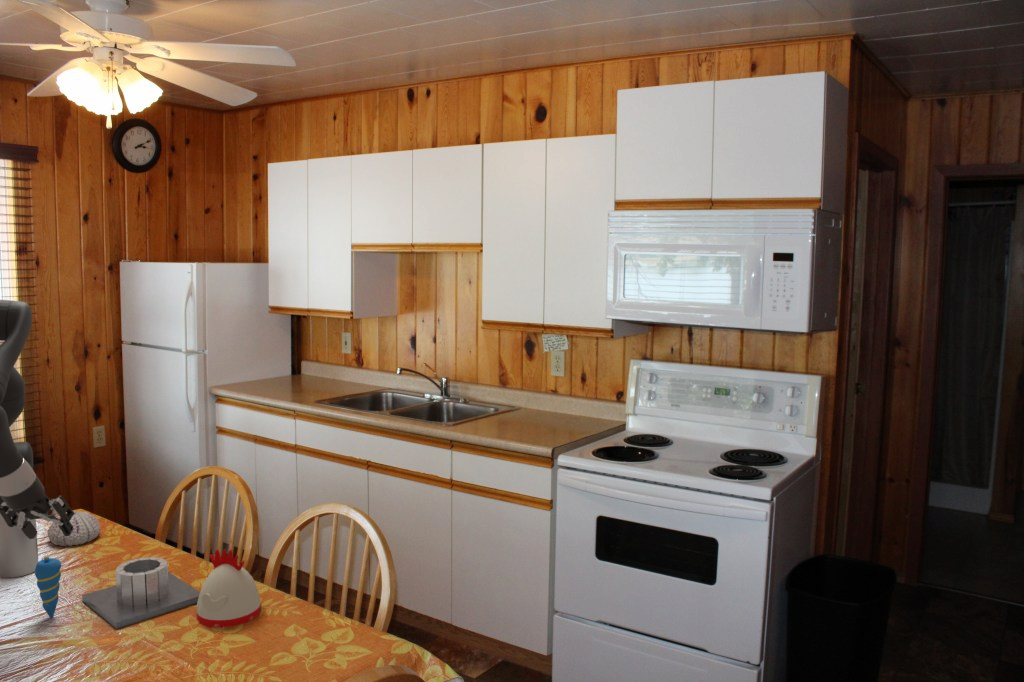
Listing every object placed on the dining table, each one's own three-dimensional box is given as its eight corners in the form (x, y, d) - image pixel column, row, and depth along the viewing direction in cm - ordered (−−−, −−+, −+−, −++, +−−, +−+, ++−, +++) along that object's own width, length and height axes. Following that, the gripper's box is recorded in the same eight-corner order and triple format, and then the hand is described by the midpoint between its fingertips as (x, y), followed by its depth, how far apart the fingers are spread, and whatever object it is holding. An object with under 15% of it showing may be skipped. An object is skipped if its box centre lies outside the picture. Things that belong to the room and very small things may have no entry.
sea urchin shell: (111, 533, 237) (110, 506, 236) (82, 550, 223) (81, 522, 222) (67, 531, 238) (66, 504, 237) (37, 548, 225) (35, 520, 224)
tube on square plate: (82, 601, 192) (80, 566, 191) (166, 576, 206) (165, 543, 205) (116, 629, 178) (114, 592, 177) (204, 600, 193) (203, 566, 192)
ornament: (69, 613, 186) (65, 549, 184) (54, 623, 181) (50, 558, 179) (47, 612, 186) (43, 548, 184) (32, 622, 181) (28, 557, 179)
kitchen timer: (218, 597, 195) (216, 536, 193) (271, 603, 192) (270, 541, 190) (184, 623, 181) (181, 558, 180) (240, 630, 179) (238, 564, 177)
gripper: (56, 467, 174) (89, 519, 183) (-5, 472, 176) (30, 524, 185) (38, 492, 168) (73, 545, 177) (-25, 497, 170) (13, 550, 179)
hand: (51, 534), depth 181 cm, fingers open, 8 cm apart
